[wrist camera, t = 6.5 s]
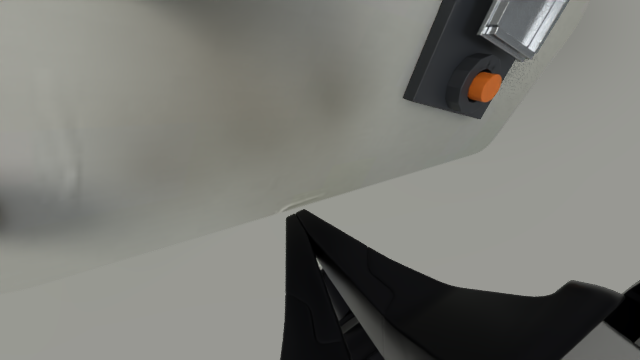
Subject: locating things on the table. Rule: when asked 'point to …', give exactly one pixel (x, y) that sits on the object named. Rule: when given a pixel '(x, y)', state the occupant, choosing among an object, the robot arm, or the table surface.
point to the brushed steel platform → (520, 25)
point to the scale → (456, 59)
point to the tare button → (484, 86)
